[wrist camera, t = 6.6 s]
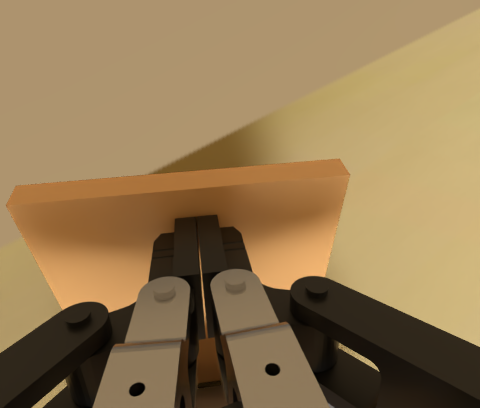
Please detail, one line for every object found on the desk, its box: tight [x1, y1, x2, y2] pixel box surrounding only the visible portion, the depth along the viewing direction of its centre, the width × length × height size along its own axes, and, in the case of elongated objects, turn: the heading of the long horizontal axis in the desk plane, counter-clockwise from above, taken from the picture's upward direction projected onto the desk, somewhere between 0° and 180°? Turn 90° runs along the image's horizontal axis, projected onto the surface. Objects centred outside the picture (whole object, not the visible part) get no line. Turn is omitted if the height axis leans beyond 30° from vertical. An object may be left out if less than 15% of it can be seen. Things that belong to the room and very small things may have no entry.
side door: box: [6, 159, 350, 384], centre depth 17 cm, size 11×2×15 cm
